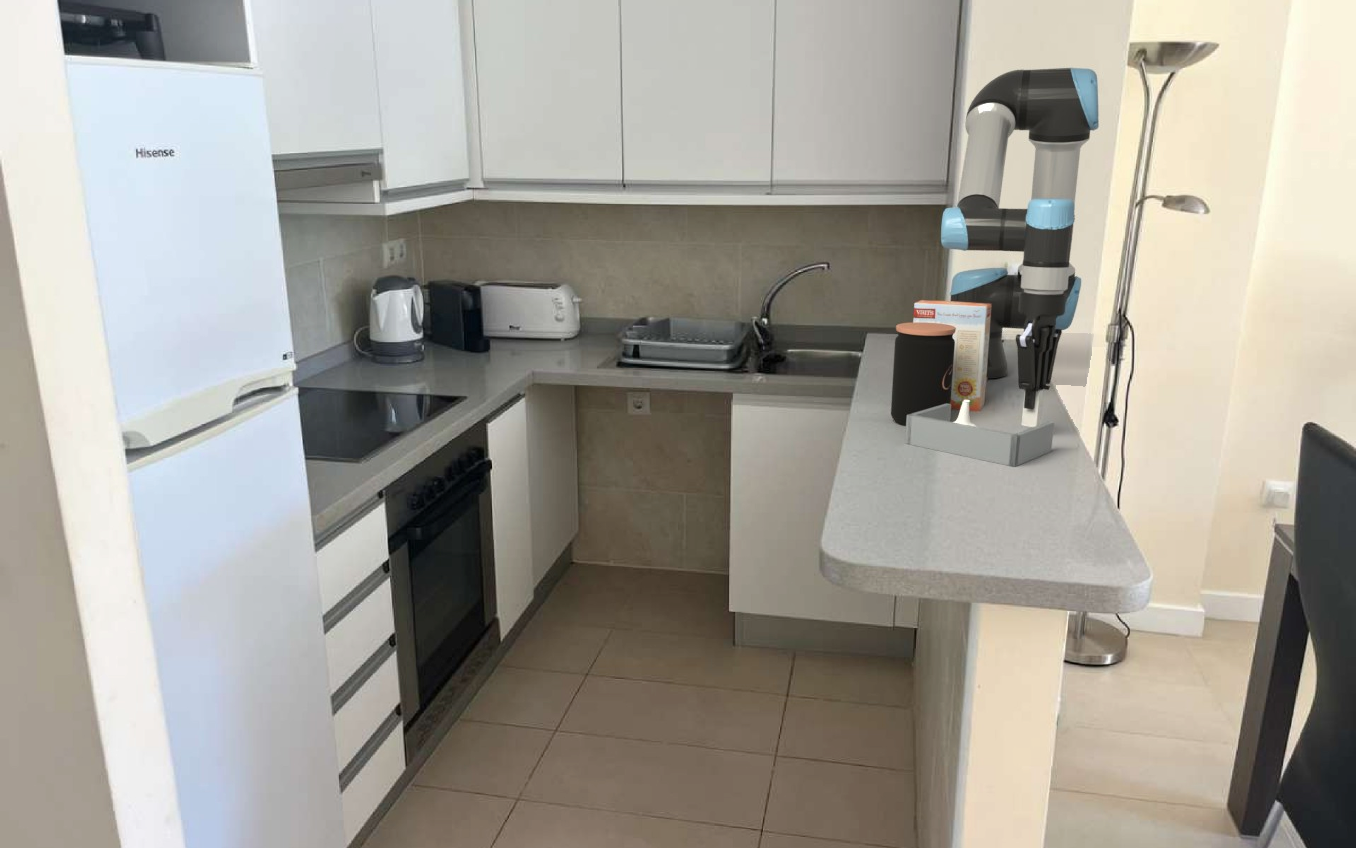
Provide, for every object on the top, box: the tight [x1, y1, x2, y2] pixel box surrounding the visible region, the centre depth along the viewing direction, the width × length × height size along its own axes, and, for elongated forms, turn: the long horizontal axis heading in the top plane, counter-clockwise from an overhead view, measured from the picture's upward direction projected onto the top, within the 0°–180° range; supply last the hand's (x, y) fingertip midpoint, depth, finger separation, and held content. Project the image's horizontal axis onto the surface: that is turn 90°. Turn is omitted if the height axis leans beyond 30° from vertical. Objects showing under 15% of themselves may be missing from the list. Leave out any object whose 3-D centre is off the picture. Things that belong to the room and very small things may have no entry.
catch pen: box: [904, 403, 1055, 468], centre depth 169 cm, size 13×20×5 cm, turn 45°
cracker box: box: [912, 299, 991, 412], centre depth 197 cm, size 14×6×21 cm, turn 63°
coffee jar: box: [890, 321, 956, 427], centre depth 185 cm, size 11×11×18 cm
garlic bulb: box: [953, 400, 978, 427], centre depth 170 cm, size 6×6×8 cm
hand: (1030, 425), depth 176 cm, fingers closed
